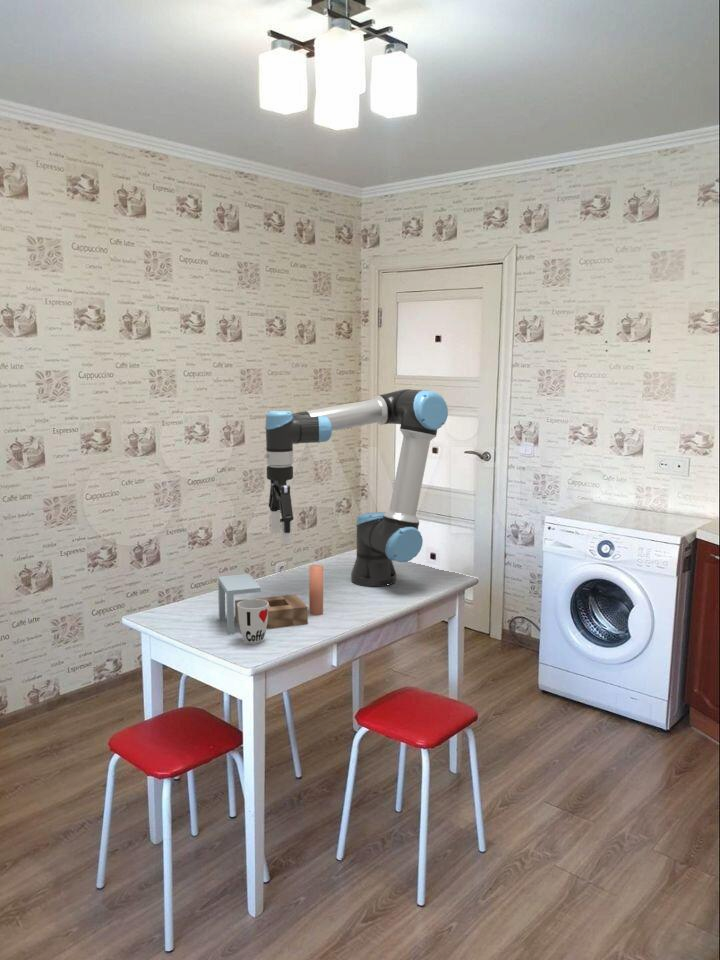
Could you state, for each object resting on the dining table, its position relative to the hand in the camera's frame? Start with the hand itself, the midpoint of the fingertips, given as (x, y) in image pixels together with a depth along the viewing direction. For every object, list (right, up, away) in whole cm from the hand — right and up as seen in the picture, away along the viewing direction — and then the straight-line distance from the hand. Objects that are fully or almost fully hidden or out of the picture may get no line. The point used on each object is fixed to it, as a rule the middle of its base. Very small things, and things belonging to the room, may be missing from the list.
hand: (280, 538), depth 219 cm
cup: (-5, -26, -20) cm, 33 cm away
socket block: (-2, -23, -5) cm, 24 cm away
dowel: (+10, -22, +2) cm, 24 cm away
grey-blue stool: (-11, -23, -8) cm, 27 cm away
